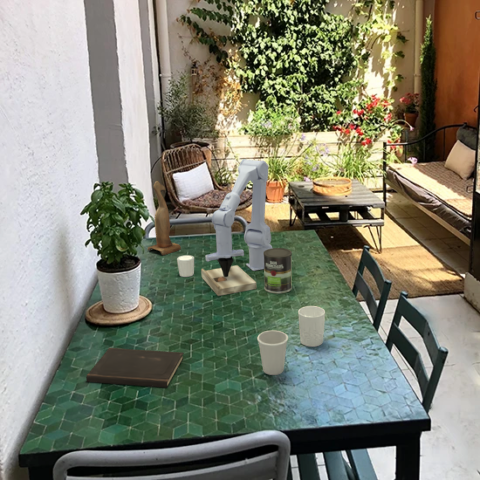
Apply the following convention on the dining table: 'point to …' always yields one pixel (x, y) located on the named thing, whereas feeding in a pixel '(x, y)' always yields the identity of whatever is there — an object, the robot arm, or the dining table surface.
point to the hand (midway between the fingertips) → (225, 275)
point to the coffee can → (278, 270)
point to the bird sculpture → (162, 225)
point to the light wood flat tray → (228, 281)
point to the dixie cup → (273, 351)
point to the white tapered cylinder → (186, 265)
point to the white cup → (311, 325)
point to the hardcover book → (135, 367)
